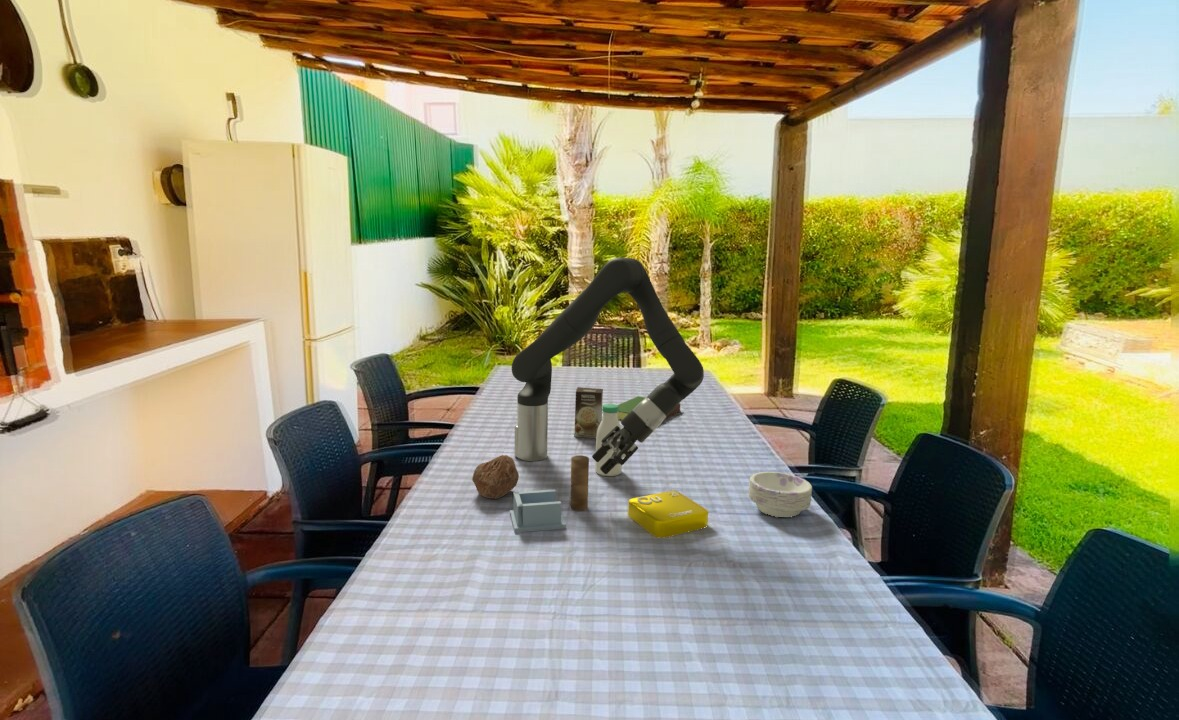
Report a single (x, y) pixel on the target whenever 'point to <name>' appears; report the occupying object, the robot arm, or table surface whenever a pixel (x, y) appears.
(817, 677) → the table surface
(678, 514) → the element tile
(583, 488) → the walnut peg
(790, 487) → the paper bowls
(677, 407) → the hardcover book
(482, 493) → the decorative rock
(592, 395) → the coffee box
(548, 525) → the slate bracket
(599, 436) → the milk bottle
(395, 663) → the table surface
